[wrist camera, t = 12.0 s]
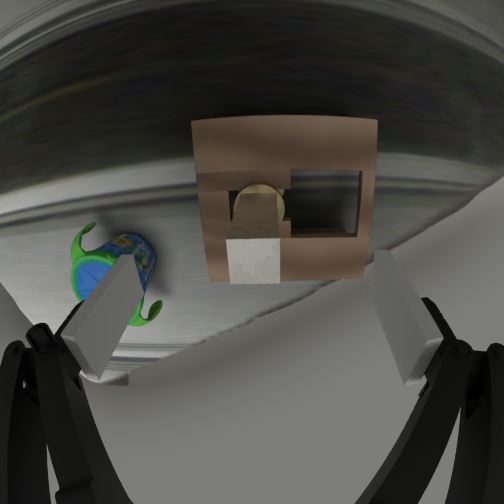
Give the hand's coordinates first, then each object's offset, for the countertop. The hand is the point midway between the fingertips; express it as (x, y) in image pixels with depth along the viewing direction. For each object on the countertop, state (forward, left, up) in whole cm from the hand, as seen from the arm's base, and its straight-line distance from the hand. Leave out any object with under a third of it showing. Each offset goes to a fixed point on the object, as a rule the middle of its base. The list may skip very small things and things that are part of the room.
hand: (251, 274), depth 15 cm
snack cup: (+10, -19, -22) cm, 31 cm away
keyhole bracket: (0, +3, -22) cm, 22 cm away
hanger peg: (0, 0, -19) cm, 19 cm away
